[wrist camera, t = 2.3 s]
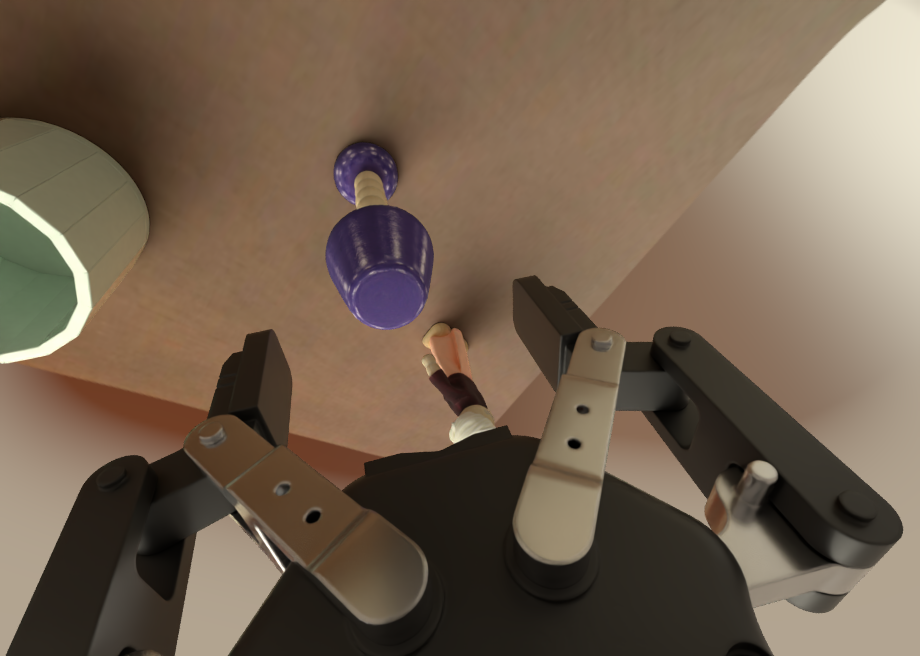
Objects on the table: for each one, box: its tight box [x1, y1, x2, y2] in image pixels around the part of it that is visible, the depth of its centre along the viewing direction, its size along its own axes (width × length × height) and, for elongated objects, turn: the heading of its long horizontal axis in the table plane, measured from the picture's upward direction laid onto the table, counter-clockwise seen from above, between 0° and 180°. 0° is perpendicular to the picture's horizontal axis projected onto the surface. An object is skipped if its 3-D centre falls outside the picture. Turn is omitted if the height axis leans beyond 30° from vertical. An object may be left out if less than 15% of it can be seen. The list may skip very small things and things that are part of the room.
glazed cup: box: [0, 118, 150, 364], centre depth 22 cm, size 10×10×9 cm
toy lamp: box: [326, 142, 434, 330], centre depth 23 cm, size 5×5×17 cm
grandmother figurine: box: [422, 323, 496, 444], centre depth 34 cm, size 8×4×13 cm, turn 49°
